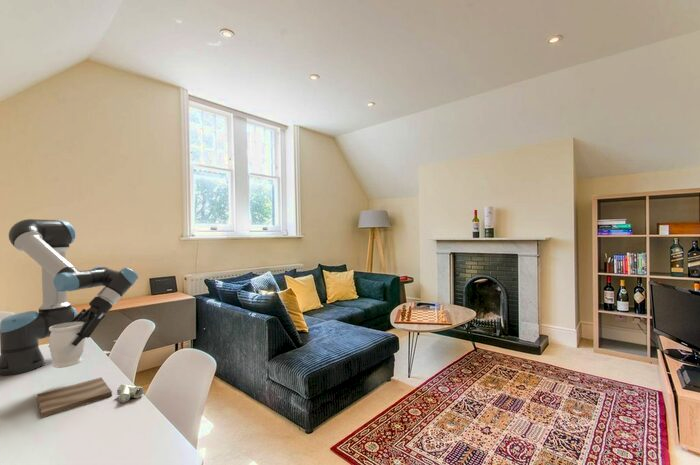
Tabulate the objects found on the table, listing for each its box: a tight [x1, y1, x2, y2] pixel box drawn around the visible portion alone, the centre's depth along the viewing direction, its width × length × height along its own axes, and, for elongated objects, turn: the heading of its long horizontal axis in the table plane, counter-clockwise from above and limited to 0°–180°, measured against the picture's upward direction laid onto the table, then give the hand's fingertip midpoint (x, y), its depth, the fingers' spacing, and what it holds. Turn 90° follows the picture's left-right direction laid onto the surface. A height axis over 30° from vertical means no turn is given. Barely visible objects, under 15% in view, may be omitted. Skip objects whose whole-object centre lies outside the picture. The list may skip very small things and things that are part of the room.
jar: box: [48, 322, 86, 369], centre depth 127 cm, size 11×10×15 cm
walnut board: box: [36, 377, 113, 418], centre depth 115 cm, size 18×18×2 cm
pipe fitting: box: [116, 383, 144, 404], centre depth 114 cm, size 8×4×7 cm
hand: (58, 350), depth 125 cm, fingers closed on jar, 10 cm apart
